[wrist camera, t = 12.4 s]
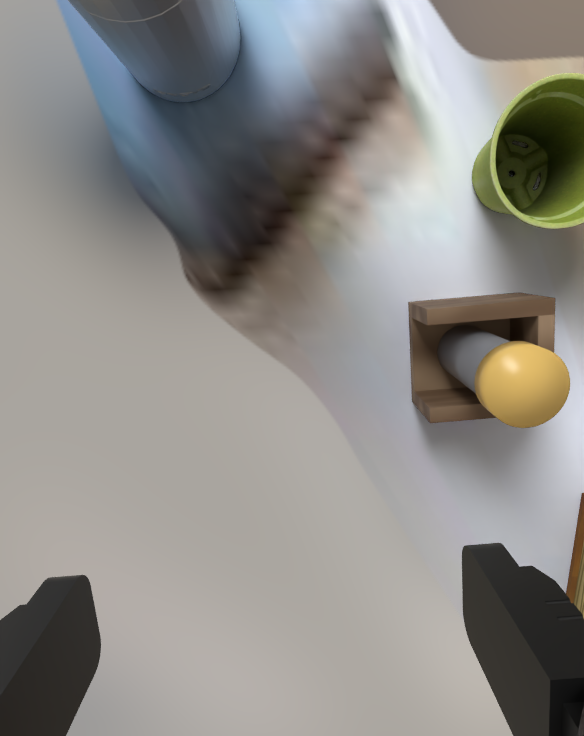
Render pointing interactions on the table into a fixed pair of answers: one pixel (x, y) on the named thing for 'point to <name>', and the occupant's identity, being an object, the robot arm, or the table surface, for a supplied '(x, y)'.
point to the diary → (577, 564)
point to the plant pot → (537, 155)
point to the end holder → (490, 313)
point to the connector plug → (506, 375)
